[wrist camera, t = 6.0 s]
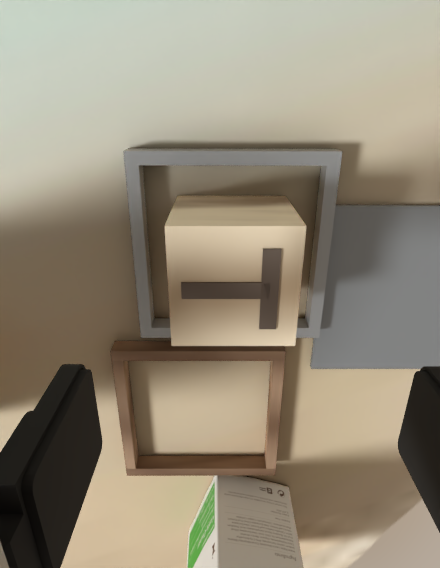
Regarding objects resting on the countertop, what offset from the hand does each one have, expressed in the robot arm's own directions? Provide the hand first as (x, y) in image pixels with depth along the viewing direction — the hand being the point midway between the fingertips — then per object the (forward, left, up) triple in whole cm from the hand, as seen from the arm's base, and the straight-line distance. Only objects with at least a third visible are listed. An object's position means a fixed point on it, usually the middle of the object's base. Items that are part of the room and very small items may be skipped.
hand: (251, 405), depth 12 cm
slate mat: (+3, +11, -13) cm, 17 cm away
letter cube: (0, 0, -13) cm, 13 cm away
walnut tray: (+12, -2, -13) cm, 18 cm away
